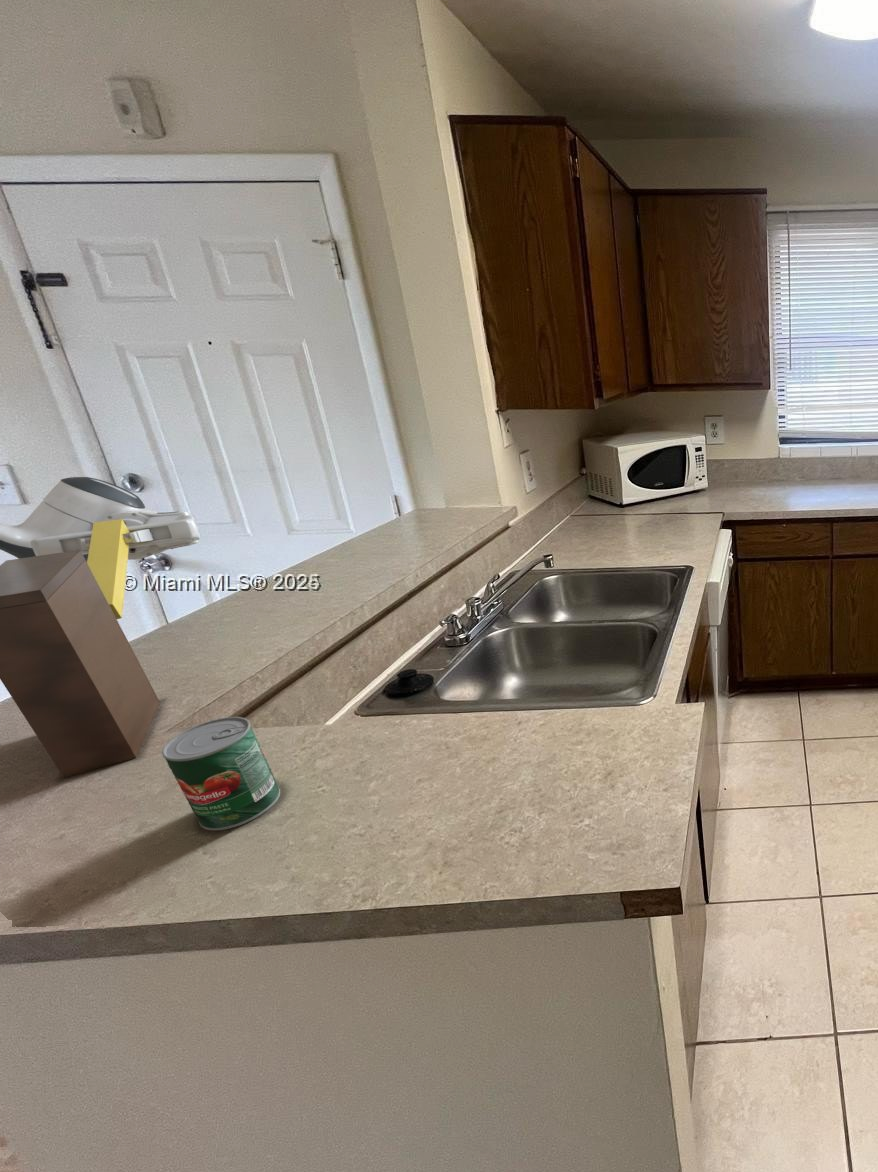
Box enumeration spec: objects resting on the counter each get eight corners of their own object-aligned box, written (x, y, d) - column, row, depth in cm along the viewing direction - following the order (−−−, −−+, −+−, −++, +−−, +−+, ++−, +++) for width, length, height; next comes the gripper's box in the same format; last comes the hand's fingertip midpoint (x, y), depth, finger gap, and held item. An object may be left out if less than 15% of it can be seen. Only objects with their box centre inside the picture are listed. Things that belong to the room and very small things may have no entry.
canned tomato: (192, 840, 72) (151, 768, 67) (207, 799, 78) (170, 730, 74) (277, 814, 76) (244, 743, 71) (284, 776, 82) (254, 709, 77)
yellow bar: (89, 624, 92) (78, 609, 90) (102, 536, 106) (93, 522, 104) (122, 618, 94) (112, 603, 92) (130, 533, 108) (122, 518, 106)
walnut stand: (63, 777, 81) (-49, 604, 71) (97, 717, 93) (5, 560, 82) (136, 757, 85) (40, 589, 74) (160, 701, 97) (80, 549, 86)
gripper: (42, 529, 107) (7, 534, 96) (198, 509, 118) (183, 512, 108) (56, 563, 109) (24, 573, 98) (210, 541, 120) (196, 547, 109)
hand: (109, 541), depth 103 cm, fingers closed on yellow bar, 3 cm apart
